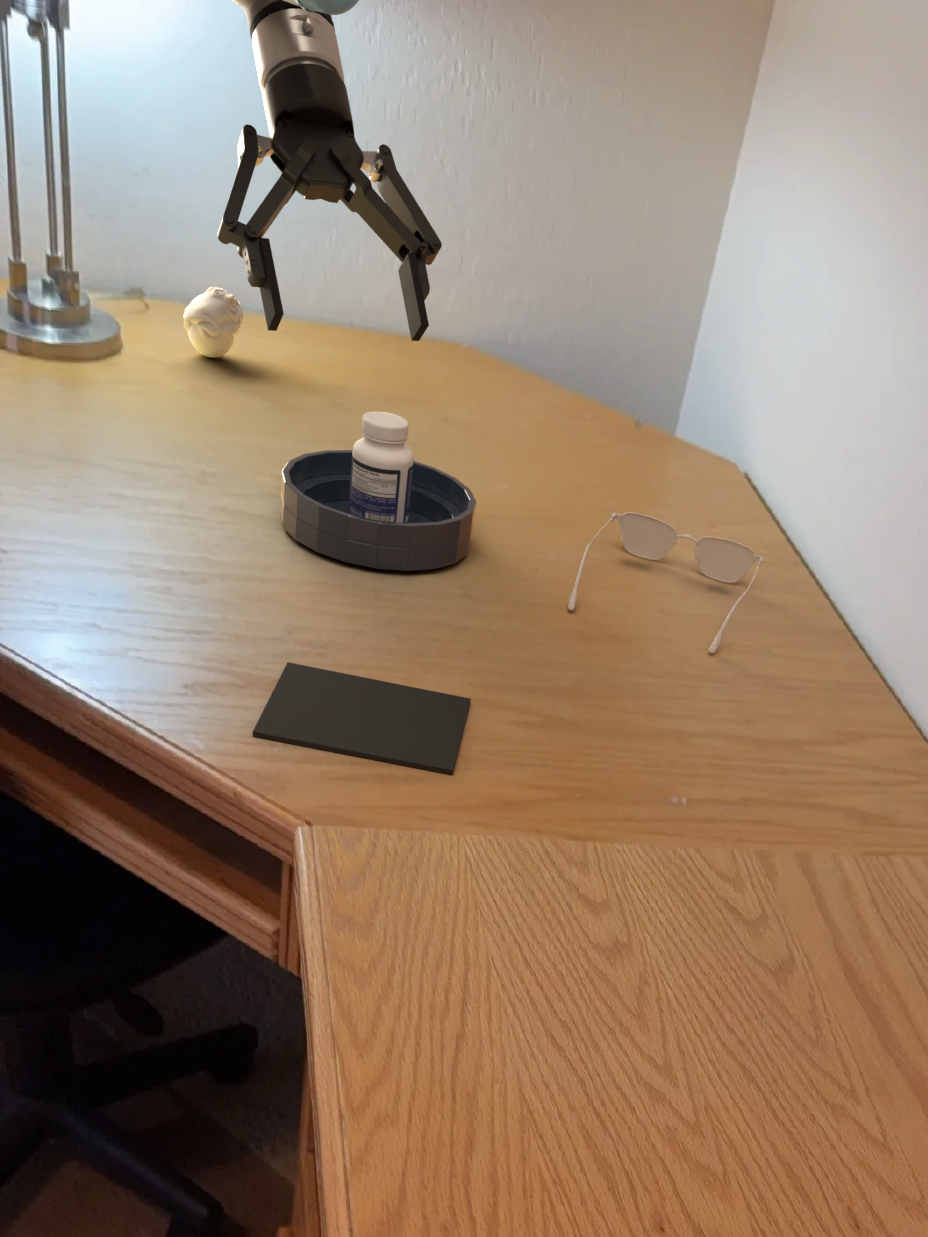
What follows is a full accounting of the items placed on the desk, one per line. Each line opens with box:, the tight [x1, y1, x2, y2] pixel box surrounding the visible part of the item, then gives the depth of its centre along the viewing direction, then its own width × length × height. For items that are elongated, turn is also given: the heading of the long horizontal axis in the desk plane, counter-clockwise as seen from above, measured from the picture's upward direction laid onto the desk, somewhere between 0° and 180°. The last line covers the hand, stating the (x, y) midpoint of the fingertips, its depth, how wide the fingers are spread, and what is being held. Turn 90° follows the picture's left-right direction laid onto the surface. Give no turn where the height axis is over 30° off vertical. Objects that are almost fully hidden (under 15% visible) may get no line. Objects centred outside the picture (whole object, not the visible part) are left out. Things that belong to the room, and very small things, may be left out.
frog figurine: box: [182, 286, 244, 358], centre depth 145 cm, size 6×7×7 cm
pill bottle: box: [349, 411, 414, 523], centre depth 115 cm, size 5×5×10 cm
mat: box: [252, 661, 472, 776], centre depth 93 cm, size 14×11×1 cm
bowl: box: [279, 449, 477, 572], centre depth 117 cm, size 17×17×4 cm
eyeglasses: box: [567, 511, 764, 655], centre depth 119 cm, size 15×18×4 cm
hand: (350, 328), depth 115 cm, fingers open, 13 cm apart
